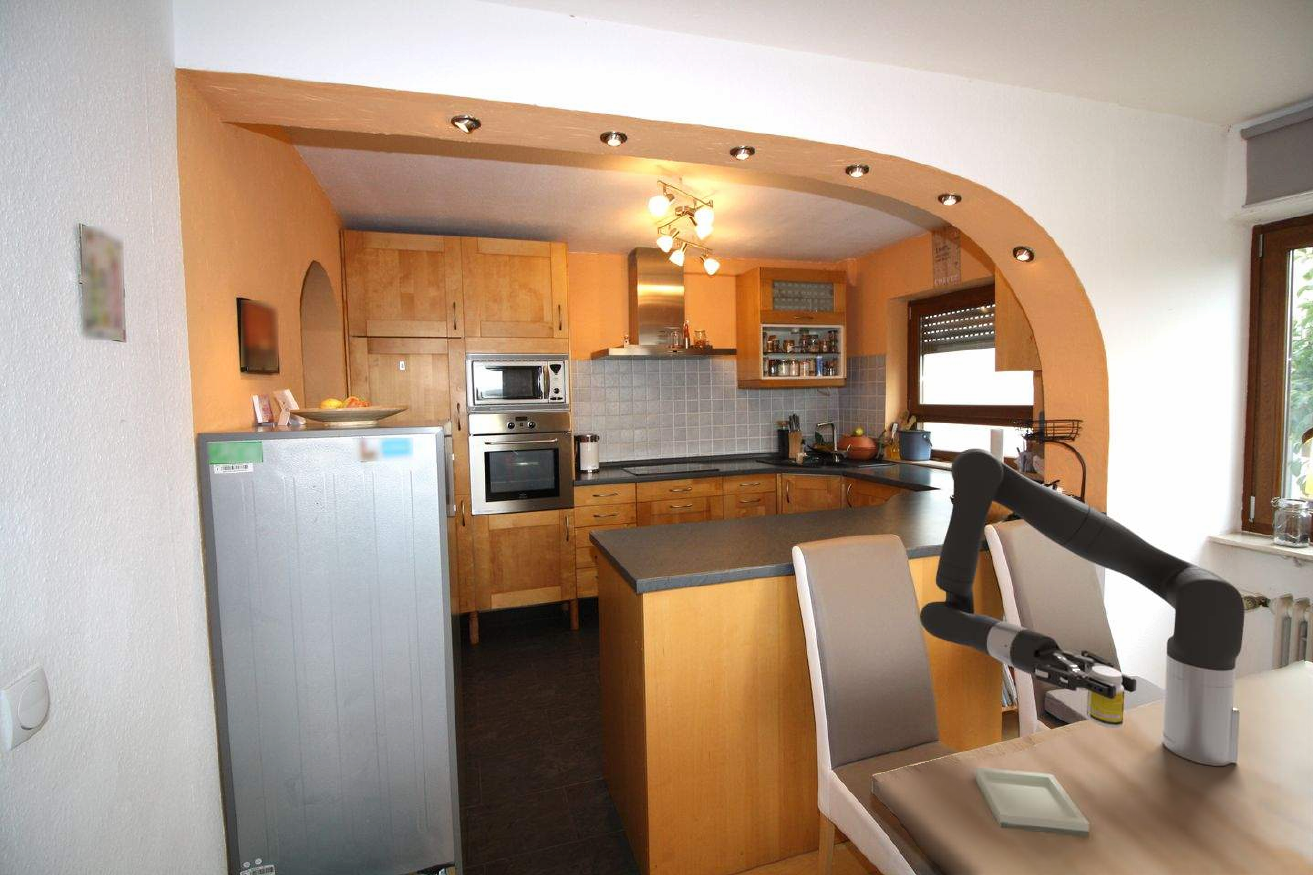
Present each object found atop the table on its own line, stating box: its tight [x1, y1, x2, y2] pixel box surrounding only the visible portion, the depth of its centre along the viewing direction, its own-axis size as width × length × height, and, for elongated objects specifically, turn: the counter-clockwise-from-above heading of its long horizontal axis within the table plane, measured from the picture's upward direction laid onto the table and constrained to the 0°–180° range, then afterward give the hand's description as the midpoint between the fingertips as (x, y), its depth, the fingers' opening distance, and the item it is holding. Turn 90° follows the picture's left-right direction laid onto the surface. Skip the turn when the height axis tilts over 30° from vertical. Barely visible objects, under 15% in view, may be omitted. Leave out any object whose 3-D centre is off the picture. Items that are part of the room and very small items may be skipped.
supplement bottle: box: [1086, 666, 1125, 729], centre depth 98 cm, size 5×5×8 cm
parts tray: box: [974, 766, 1090, 838], centre depth 96 cm, size 12×12×2 cm
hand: (1124, 689), depth 95 cm, fingers closed on supplement bottle, 4 cm apart
